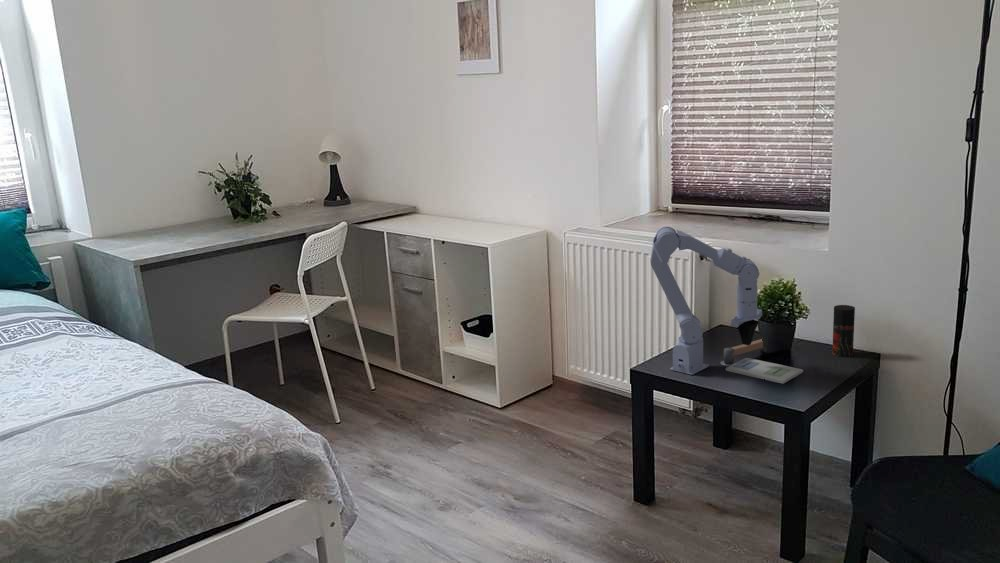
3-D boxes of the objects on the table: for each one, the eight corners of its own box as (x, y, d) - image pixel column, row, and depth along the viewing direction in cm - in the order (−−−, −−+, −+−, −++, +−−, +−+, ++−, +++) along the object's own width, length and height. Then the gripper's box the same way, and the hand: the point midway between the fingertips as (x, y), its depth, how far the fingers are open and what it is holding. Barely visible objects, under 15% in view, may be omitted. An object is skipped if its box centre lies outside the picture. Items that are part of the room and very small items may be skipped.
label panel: (783, 383, 233) (783, 380, 233) (711, 367, 250) (711, 364, 250) (803, 372, 241) (803, 369, 241) (731, 356, 258) (731, 353, 258)
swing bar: (728, 364, 250) (728, 351, 249) (721, 361, 252) (721, 349, 252) (779, 349, 260) (779, 337, 259) (771, 347, 263) (772, 335, 262)
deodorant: (854, 357, 251) (856, 310, 247) (834, 356, 252) (835, 310, 249) (850, 350, 257) (852, 304, 253) (830, 350, 258) (832, 304, 254)
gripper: (746, 308, 235) (746, 352, 238) (771, 297, 245) (771, 340, 248) (724, 304, 240) (724, 348, 243) (750, 294, 250) (749, 336, 253)
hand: (746, 344), depth 246 cm, fingers closed
